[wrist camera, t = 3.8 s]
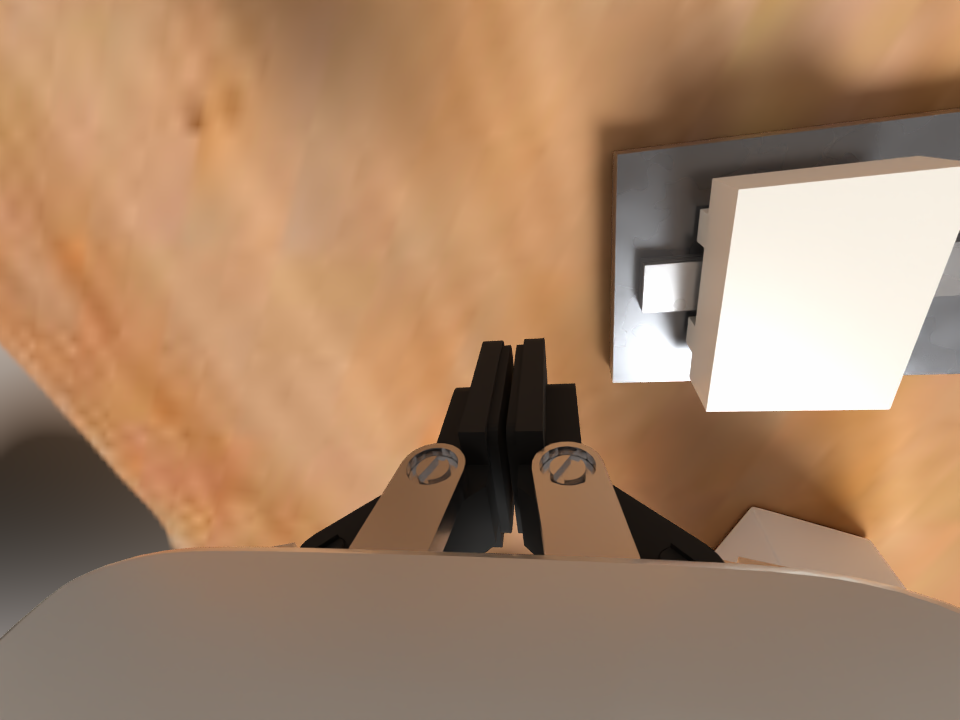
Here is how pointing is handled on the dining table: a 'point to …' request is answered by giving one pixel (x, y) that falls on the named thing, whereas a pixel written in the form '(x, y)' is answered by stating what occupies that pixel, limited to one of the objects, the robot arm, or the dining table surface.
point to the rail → (678, 256)
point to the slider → (819, 282)
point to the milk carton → (804, 547)
